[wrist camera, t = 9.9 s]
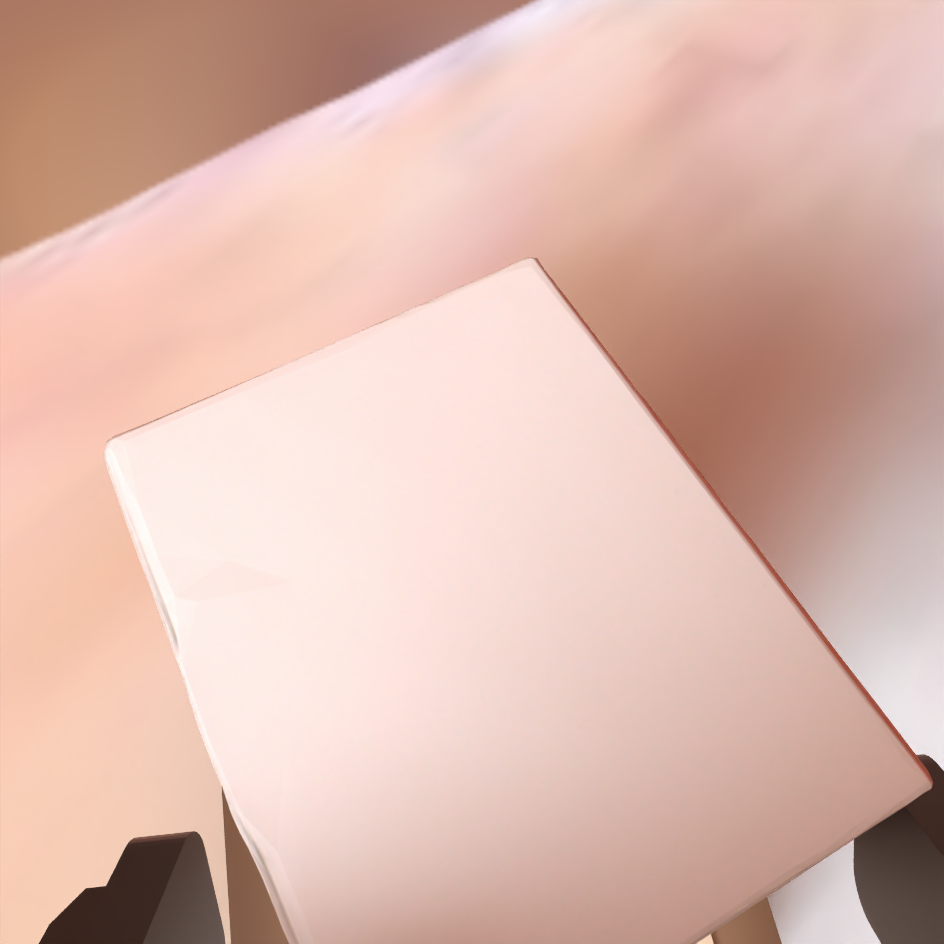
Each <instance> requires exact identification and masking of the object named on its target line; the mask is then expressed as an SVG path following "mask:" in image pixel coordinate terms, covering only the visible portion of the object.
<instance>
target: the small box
mask: <svg viewBox="0 0 944 944" xmlns="http://www.w3.org/2000/svg"><path fill="white" fill-rule="evenodd" d="M104 458H105V464H106V466H107V469H108V472H109V475H110V478H111V480H112V483H113V486H114V489H115V492H116V495H117V498H118V501H119V504H120V507H121V509H122V512H123V515H124V518H125V521H126V523H127V526H128V529H129V532H130V535H131V537H132V540H133V543H134V546H135V548H136V551H137V554H138V557H139V560H140V562H141V565H142V568H143V570H144V573H145V575H146V578H147V580H148V583H149V586H150V588H151V591H152V594H153V597H154V599H155V602H156V605H157V608H158V611H159V614H160V617H161V619H162V622H163V625H164V627H165V630H166V633H167V636H168V638H169V641H170V644H171V647H172V649H173V652H174V655H175V658H176V660H177V663H178V666H179V669H180V671H181V674H182V677H183V680H184V683H185V686H186V689H187V692H188V696H189V699H190V702H191V705H192V709H193V712H194V715H195V719H196V722H197V725H198V728H199V730H200V733H201V736H202V739H203V742H204V744H205V747H206V750H207V752H208V755H209V757H210V760H211V762H212V765H213V767H214V769H215V772H216V774H217V776H218V779H219V781H220V783H221V785H222V788H223V791H224V794H225V797H226V800H227V803H228V806H229V809H230V812H231V814H232V816H233V819H234V821H235V823H236V825H237V828H238V830H239V832H240V834H241V836H242V838H243V839H244V841H245V843H246V845H247V847H248V849H249V851H250V853H251V855H252V857H253V859H254V862H255V864H256V866H257V868H258V870H259V872H260V874H261V877H262V879H263V881H264V884H265V886H266V888H267V891H268V893H269V896H270V898H271V901H272V903H273V906H274V908H275V911H276V913H277V916H278V918H279V921H280V924H281V926H282V929H283V931H284V933H285V936H286V938H287V940H288V943H289V944H696V943H698V942H699V941H701V940H702V939H704V938H705V937H707V936H708V935H710V934H711V933H713V932H714V931H716V930H717V929H719V928H720V927H722V926H723V925H725V924H726V923H728V922H729V921H731V920H732V919H734V918H736V917H737V916H739V915H740V914H742V913H743V912H745V911H746V910H748V909H749V908H751V907H752V906H754V905H755V904H757V903H758V902H760V901H761V900H763V899H764V898H766V897H767V896H769V895H770V894H772V893H773V892H775V891H776V890H778V889H779V888H781V887H782V886H784V885H785V884H787V883H788V882H790V881H791V880H793V879H794V878H796V877H798V876H799V875H801V874H802V873H804V872H805V871H807V870H808V869H810V868H811V867H813V866H814V865H816V864H817V863H819V862H820V861H822V860H823V859H825V858H826V857H828V856H829V855H831V854H832V853H834V852H835V851H837V850H838V849H840V848H841V847H843V846H844V845H846V844H847V843H849V842H850V841H852V840H853V839H855V838H856V837H858V836H860V835H861V834H863V833H864V832H866V831H867V830H869V829H870V828H872V827H873V826H875V825H877V824H878V823H880V822H881V821H883V820H884V819H886V818H888V817H889V816H891V815H892V814H894V813H895V812H897V811H898V810H900V809H902V808H903V807H905V806H906V805H908V804H909V803H910V802H912V801H913V800H915V799H916V798H917V797H919V796H920V795H922V794H923V793H925V792H926V791H928V790H930V789H931V788H932V785H933V781H932V778H931V776H930V774H929V772H928V770H927V769H926V768H925V766H924V765H923V764H922V762H921V761H920V760H919V758H918V757H917V756H916V754H915V753H914V752H913V751H912V749H911V748H910V747H909V745H908V744H907V743H906V741H905V740H904V739H903V737H902V736H901V735H900V734H899V732H898V731H897V730H896V728H895V727H894V726H893V724H892V723H891V722H890V720H889V719H888V718H887V717H886V715H885V714H884V713H883V711H882V710H881V709H880V707H879V706H878V705H877V703H876V702H875V701H874V700H873V698H872V697H871V696H870V694H869V693H868V692H867V691H866V689H865V688H864V687H863V685H862V684H861V683H860V682H859V680H858V679H857V678H856V676H855V675H854V674H853V673H852V671H851V670H850V669H849V667H848V666H847V665H846V664H845V662H844V661H843V660H842V658H841V657H840V656H839V655H838V653H837V652H836V651H835V649H834V648H833V647H832V645H831V644H830V643H829V641H828V640H827V639H826V637H825V636H824V635H823V633H822V632H821V631H820V629H819V628H818V627H817V625H816V624H815V623H814V621H813V620H812V619H811V617H810V616H809V615H808V613H807V612H806V611H805V609H804V608H803V607H802V605H801V604H800V603H799V602H798V600H797V599H796V598H795V596H794V595H793V594H792V592H791V591H790V590H789V588H788V587H787V586H786V584H785V583H784V582H783V581H782V579H781V578H780V577H779V575H778V574H777V573H776V571H775V570H774V569H773V567H772V566H771V565H770V563H769V562H768V561H767V560H766V558H765V557H764V556H763V554H762V553H761V552H760V550H759V549H758V548H757V546H756V545H755V544H754V542H753V541H752V540H751V539H750V537H749V536H748V535H747V534H746V532H745V531H744V530H743V529H742V527H741V526H740V525H739V524H738V522H737V521H736V520H735V519H734V517H733V516H732V515H731V514H730V512H729V511H728V510H727V509H726V507H725V506H724V505H723V503H722V502H721V500H720V499H719V497H718V496H717V495H716V493H715V492H714V490H713V489H712V488H711V486H710V485H709V484H708V482H707V481H706V480H705V478H704V477H703V476H702V474H701V473H700V472H699V470H698V469H697V468H696V467H695V465H694V464H693V463H692V462H691V460H690V459H689V458H688V457H687V455H686V454H685V453H684V451H683V450H682V449H681V448H680V446H679V445H678V443H677V442H676V441H675V439H674V438H673V436H672V435H671V434H670V432H669V431H668V429H667V428H666V427H665V426H664V424H663V423H662V422H661V420H660V419H659V418H658V417H657V415H656V414H655V413H654V411H653V410H652V409H651V407H650V406H649V405H648V404H647V402H646V401H645V400H644V398H643V397H642V396H641V395H640V394H639V393H638V391H637V390H636V389H635V388H634V386H633V385H632V384H631V382H630V381H629V379H628V378H627V376H626V375H625V374H624V372H623V371H622V370H621V369H620V367H619V366H618V365H617V363H616V362H615V361H614V360H613V358H612V357H611V356H610V354H609V353H608V352H607V351H606V349H605V348H604V347H603V345H602V344H601V343H600V341H599V340H598V339H597V337H596V336H595V335H594V334H593V332H592V331H591V330H590V328H589V327H588V326H587V324H586V323H585V322H584V320H583V319H582V318H581V316H580V315H579V314H578V312H577V311H576V310H575V308H574V307H573V306H572V305H571V303H570V302H569V301H568V299H567V298H566V297H565V295H564V294H563V293H562V292H561V290H560V289H559V288H558V287H557V285H556V284H555V283H554V281H553V280H552V279H551V278H550V276H549V275H548V274H547V272H546V271H545V270H544V268H543V267H542V265H541V264H540V262H539V261H538V259H537V258H526V259H523V260H521V261H518V262H516V263H513V264H511V265H509V266H507V267H505V268H502V269H500V270H498V271H496V272H494V273H491V274H489V275H487V276H484V277H482V278H480V279H477V280H475V281H473V282H470V283H468V284H466V285H464V286H461V287H459V288H457V289H455V290H452V291H450V292H448V293H446V294H444V295H441V296H439V297H437V298H435V299H433V300H431V301H428V302H426V303H424V304H421V305H419V306H417V307H414V308H412V309H410V310H407V311H405V312H403V313H401V314H398V315H396V316H394V317H392V318H389V319H387V320H385V321H383V322H380V323H378V324H376V325H373V326H371V327H369V328H367V329H364V330H362V331H360V332H357V333H355V334H353V335H351V336H348V337H346V338H344V339H342V340H339V341H337V342H335V343H333V344H330V345H328V346H326V347H324V348H321V349H319V350H317V351H315V352H312V353H310V354H308V355H306V356H303V357H301V358H299V359H297V360H294V361H292V362H290V363H288V364H285V365H283V366H281V367H278V368H276V369H274V370H271V371H269V372H267V373H264V374H262V375H260V376H257V377H255V378H253V379H250V380H248V381H246V382H243V383H241V384H238V385H236V386H234V387H231V388H229V389H227V390H224V391H222V392H220V393H217V394H215V395H213V396H210V397H208V398H205V399H203V400H201V401H198V402H196V403H194V404H191V405H189V406H187V407H184V408H182V409H180V410H177V411H175V412H172V413H170V414H168V415H165V416H163V417H161V418H158V419H156V420H154V421H151V422H149V423H147V424H144V425H141V426H139V427H136V428H134V429H131V430H129V431H126V432H124V433H121V434H119V435H116V436H114V437H112V438H111V439H109V440H108V441H107V442H106V446H105V451H104Z"/></svg>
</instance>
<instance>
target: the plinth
mask: <svg viewBox="0 0 944 944" xmlns="http://www.w3.org/2000/svg"><path fill="white" fill-rule="evenodd" d="M222 799H223V815H224V832H225V848H226V865H227V881H228V898H229V914H230V931H231V944H289V943H288V940H287V938H286V936H285V933H284V931H283V929H282V926H281V924H280V921H279V918H278V916H277V913H276V911H275V908H274V906H273V903H272V901H271V898H270V896H269V893H268V891H267V888H266V886H265V884H264V881H263V879H262V877H261V874H260V872H259V870H258V868H257V866H256V864H255V862H254V859H253V857H252V855H251V853H250V851H249V849H248V847H247V845H246V843H245V841H244V839H243V838H242V836H241V834H240V832H239V830H238V828H237V825H236V823H235V821H234V819H233V816H232V814H231V812H230V809H229V806H228V803H227V800H226V797H225V794H224V791H223V788H222ZM696 944H782V943H781V940H780V937H779V934H778V931H777V928H776V924H775V921H774V918H773V915H772V912H771V909H770V906H769V903H768V899H767V897H766V898H764V899H763V900H761V901H760V902H758V903H757V904H755V905H754V906H752V907H751V908H749V909H748V910H746V911H745V912H743V913H742V914H740V915H739V916H737V917H736V918H734V919H732V920H731V921H729V922H728V923H726V924H725V925H723V926H722V927H720V928H719V929H717V930H716V931H714V932H713V933H711V934H710V935H708V936H707V937H705V938H704V939H702V940H701V941H699V942H698V943H696Z"/></svg>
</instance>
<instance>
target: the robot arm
mask: <svg viewBox="0 0 944 944" xmlns="http://www.w3.org/2000/svg"><path fill="white" fill-rule="evenodd" d="M916 756H917V757H918V758H919V760H920V761H921V762H922V764H923V765H924V766H925V768H926V769H927V770H928V772H929V774H930V776H931V778H932V781H933V785H932V788H931V789H930V790H928V791H926V792H925V793H923V794H922V795H920V796H919V797H917V798H916V799H915V800H913V801H912V802H910V803H909V804H908V805H906V806H905V807H903V808H902V809H900V810H898V811H897V812H895V813H894V814H892V815H891V816H889V817H888V818H886V819H884V820H883V821H881V822H880V823H878V824H877V825H875V826H873V827H872V828H870V829H869V830H867V831H866V832H864V833H863V834H861V835H860V836H858V837H856V838H855V839H854V876H855V882H856V887H857V891H858V895H859V899H860V902H861V905H862V907H863V910H864V913H865V915H866V917H867V919H868V921H869V923H870V925H871V927H872V928H873V930H874V932H875V934H876V935H877V937H878V939H879V940H880V942H881V944H944V771H943V770H942V769H941V767H940V766H939V765H938V764H937V763H936V762H935V761H934V760H933V759H932V758H930V757H929V756H927V755H916ZM39 944H225V936H224V930H223V926H222V921H221V917H220V913H219V908H218V904H217V899H216V895H215V891H214V886H213V882H212V878H211V873H210V869H209V865H208V860H207V856H206V852H205V847H204V844H203V841H202V838H201V837H200V835H199V834H198V833H197V832H195V831H193V832H184V833H175V834H166V835H156V836H147V837H138V838H133V839H132V840H131V841H130V842H129V843H128V844H127V846H126V848H125V849H124V851H123V853H122V855H121V857H120V859H119V861H118V863H117V865H116V867H115V869H114V871H113V873H112V875H111V877H110V879H109V881H108V883H107V885H106V886H104V887H95V888H86V889H85V890H84V891H83V892H82V893H81V894H80V895H79V896H78V897H77V898H76V899H75V900H74V901H73V902H72V903H71V904H70V905H69V906H68V907H67V908H66V909H65V910H64V911H63V912H62V913H61V914H60V915H59V916H58V917H57V918H56V919H55V920H53V921H52V922H51V923H50V924H49V926H48V928H47V930H46V932H45V933H44V935H43V937H42V939H41V941H40V943H39Z"/></svg>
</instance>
